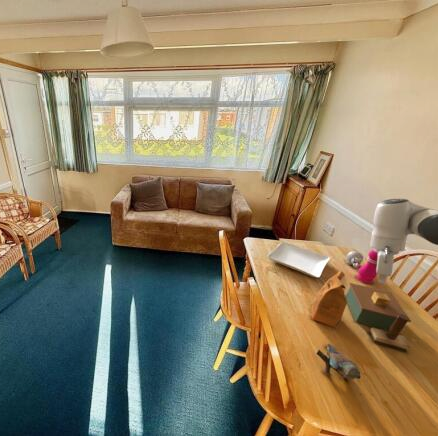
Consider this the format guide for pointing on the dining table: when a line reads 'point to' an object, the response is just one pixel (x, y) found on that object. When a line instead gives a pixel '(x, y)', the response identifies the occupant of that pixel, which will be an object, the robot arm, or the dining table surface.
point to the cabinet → (372, 307)
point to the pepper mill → (369, 268)
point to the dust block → (380, 299)
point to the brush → (392, 335)
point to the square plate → (299, 259)
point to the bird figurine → (339, 363)
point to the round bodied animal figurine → (354, 258)
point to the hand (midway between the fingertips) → (382, 277)
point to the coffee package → (330, 301)
